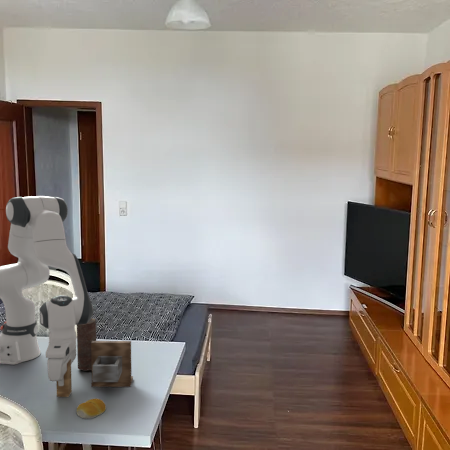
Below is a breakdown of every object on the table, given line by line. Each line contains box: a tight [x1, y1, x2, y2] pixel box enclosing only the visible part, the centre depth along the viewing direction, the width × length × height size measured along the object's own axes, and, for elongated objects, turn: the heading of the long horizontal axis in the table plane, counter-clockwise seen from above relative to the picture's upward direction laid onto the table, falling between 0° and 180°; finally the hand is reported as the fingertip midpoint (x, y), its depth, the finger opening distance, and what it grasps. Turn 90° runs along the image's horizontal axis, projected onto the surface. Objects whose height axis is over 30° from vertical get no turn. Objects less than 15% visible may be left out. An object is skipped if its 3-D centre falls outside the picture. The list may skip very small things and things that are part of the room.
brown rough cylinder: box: [76, 317, 97, 372], centre depth 188 cm, size 8×7×20 cm
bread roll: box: [76, 398, 107, 420], centre depth 158 cm, size 8×9×4 cm
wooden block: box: [55, 359, 73, 398], centre depth 169 cm, size 4×4×12 cm
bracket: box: [91, 340, 134, 388], centre depth 173 cm, size 14×15×16 cm
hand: (63, 381), depth 169 cm, fingers closed on wooden block, 4 cm apart
